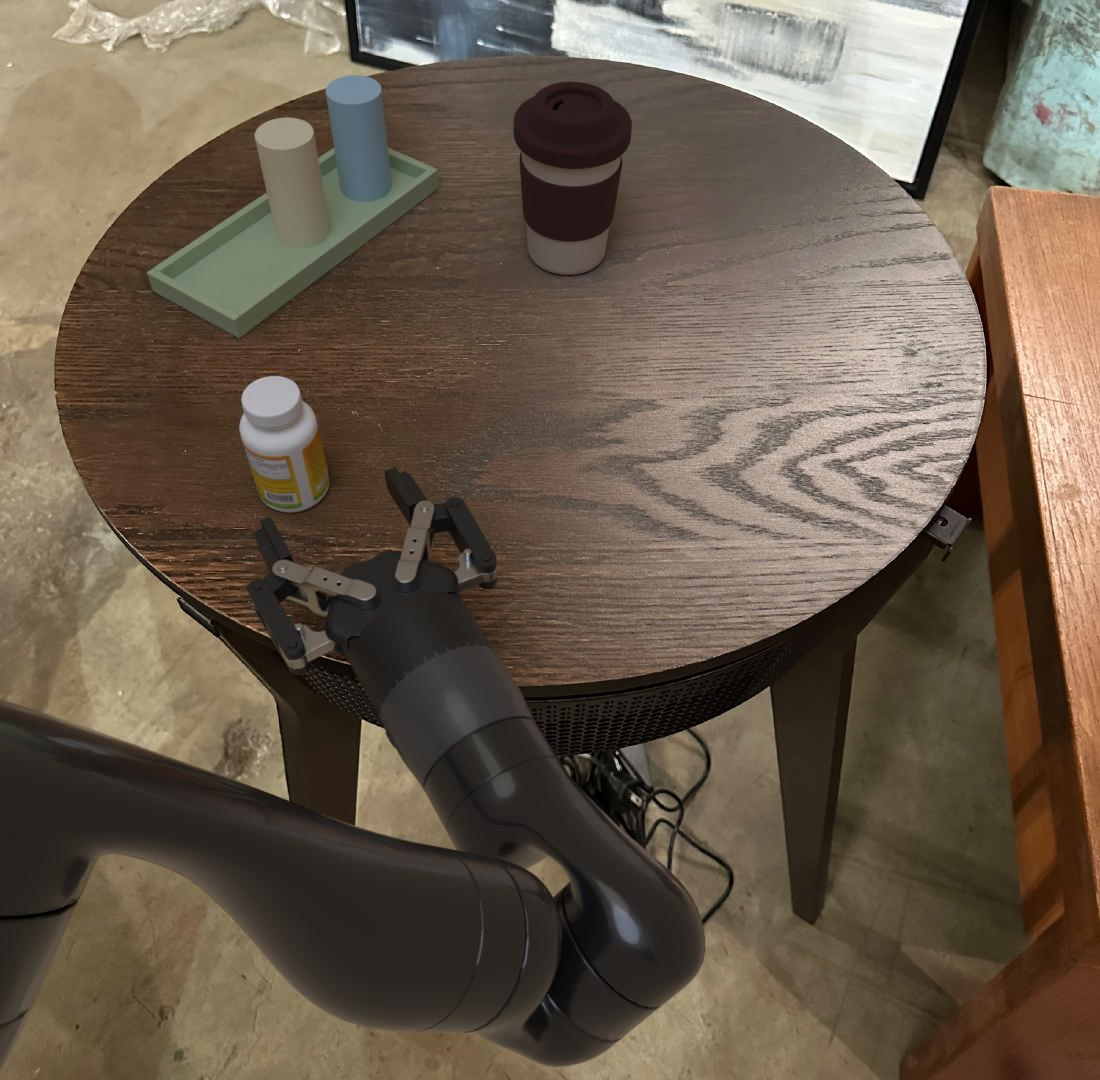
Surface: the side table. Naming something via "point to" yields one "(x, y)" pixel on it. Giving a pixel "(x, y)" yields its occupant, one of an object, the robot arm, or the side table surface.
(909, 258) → the side table surface
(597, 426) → the side table surface
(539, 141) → the coffee cup
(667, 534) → the side table surface
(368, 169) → the blue cylinder
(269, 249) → the tray
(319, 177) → the beige upright cylinder
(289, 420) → the supplement bottle
